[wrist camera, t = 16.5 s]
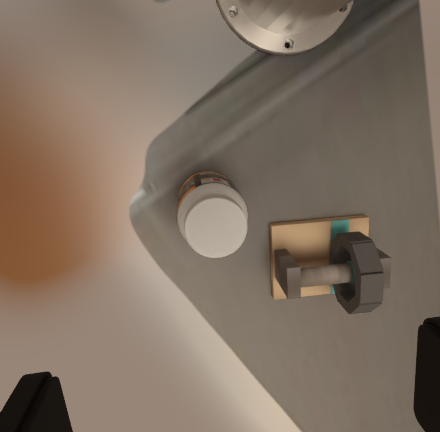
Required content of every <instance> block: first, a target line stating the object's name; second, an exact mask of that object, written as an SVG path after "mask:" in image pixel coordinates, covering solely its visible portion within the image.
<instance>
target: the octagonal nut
mask: <svg viewBox="0 0 440 432" xmlns="http://www.w3.org/2000/svg"><path fill="white" fill-rule="evenodd" d="M350 260H352V263H353V266H354V269H355V273H356V284H350V283H340V284H333V288H334V291H335V295H336V298H338V299H337V301H338V302H339V303H340V304H341V305H342V307H343V308H344V309H345V310H346V311H347V312H348V314H356V313H365V312H371V311H373V310H374V309H375V308H377V307H378V306H379V305H381V304H382V302H381V301H383V288H384V273H383V272H382V271H383V270H384V269H383V266H382V263H381V261H380V258H379V255H378V252H377V249H376V246H375V244H374V242H373V240H372V239H370V238H369V237H367V236H366V235H364V234H363V233H361V232H360V231H357V232H347V233H338V234H337V235H336V237H335V238H334V240H333V241H332V243H331V245H330V256H329V265H332V264H342V263H346V262H347V261H350Z"/></svg>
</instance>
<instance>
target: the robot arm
mask: <svg viewBox="0 0 440 432" xmlns="http://www.w3.org/2000/svg"><path fill="white" fill-rule="evenodd" d="M216 3H217V5H218V7H219V10H220V12H221V15H222V17H223V18H224V20H225V21H226V23H227V24H228V26H229V27H230V29H231V30H232V31H233V32H234V33H235V34H236V35H237V36H238V37H239V38H240V39H241V40H242V41H244V42H245V43H246V44H248V45H249V46H251V47H253V48H255V49H257V50H259V51H262V52H264V53H269V54H274V55H293V54H297V53H302V52H305V51H307V50H309V49H312V48H314V47H316V46H317V45H319V44H321V43H322V42H324V41H325V40H326V39H328V38H329V37H330V36H331V35H332V34H334V33H335V32H336V30H337V29H338V28H339V27H340V26H341V24H342V23H343V22H344V20H345V19H346V17H347V15H348V14H349V12H350V10H351V8H352V5H353V3H354V0H216ZM340 9H341V11H339V10H340ZM230 11H233V12H234V13H235V16H234V17H231V16H230V15H229V12H230ZM285 43H288V44H289V48H285V46H284V45H285ZM414 413H415V416H416V419H417V421H418V422H419V424H420V425H421V427H422V428H423V429H424V431H425V432H440V317H433V318H427V319H425V320H424V322H423V325H420V326H419V329H418V341H417V357H416V374H415V391H414ZM0 432H73V431H72V427H71V423H70V419H69V415H68V412H67V408H66V404H65V400H64V396H63V393H62V388H61V384H60V381H59V378H58V377H52V375H51V373H50V372H40V373H33V374H26V375H24V376H22V378H21V379H20V381H19V382H18V384H17V386H16V387H15V389H14V391H13V392H12V394H11V396H10V398H9V399H8V401H7V402H6V404H5V406H4V408H3V409H2V411H1V412H0Z"/></svg>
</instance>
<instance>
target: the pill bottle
mask: <svg viewBox="0 0 440 432" xmlns="http://www.w3.org/2000/svg"><path fill="white" fill-rule="evenodd" d="M247 219H248V212H247V207H246V204H245V202H244V200H243V198H242V196H241V195H240V194H239V192H238V191H237V189H236V188H235V187H234V185H233V184H232V183H231V181H230V180H229V179H228V178H226V177H225V176H224V175H222V174H220V173H217V172H214V171H203V172H199V173H196V174H194V175H192V176H191V177H189V178H188V179H187V180H186V181H185V182H184V184H183V185H182V187H181V189H180V192H179V196H178V210H177V224H178V227H179V230H180V232H181V234H182V236H183V237H184V238H185V240H186V241H187V242H188V243H189V245H190V246H191V247H192V249H193V250H195V251H196V252H197V253H199V254H201V255H203V256H206V257H210V258H220V257H225V256H227V255H230V254H232V253H233V252H235V251H236V250H237V249H238V248H239V247H240V246H241V244H242V243H243V241H244V239H245V237H246V234H247Z"/></svg>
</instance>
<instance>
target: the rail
mask: <svg viewBox="0 0 440 432" xmlns="http://www.w3.org/2000/svg"><path fill="white" fill-rule="evenodd" d="M269 229H270V260H271V291H272V297H273V299H274V300H275V299H284V298H287V299H294V298H301V297H303V296H312V295H321V294H330V293H331V294H334V293H335V291H334V288H333V284H340V283H350V284H356V273H355V269H354V266H353V263H352V260H350V261H347V262H346V263H342V264H332V265H329V256H330V245H331V243H332V241H333V240H334V238H335V237H336V235H337V234H338V233H347V232H357V231H360V232H361V233H363V234H364V235H366V236H367V237H368V231H369V217H368V216H366V215H356V216H345V217H334V218H323V219H313V220H302V221H291V222H280V223H269ZM376 249H377V248H376ZM377 252H378V255H379V258H380V261H381V263H382V266H383V269H384V270H383V271H382V272H383V273H384V288H383V289H386V288H390V270H391V257H389V256H388V255H386V254H385V253H383V252H382V251H380V250H379V249H377Z"/></svg>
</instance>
